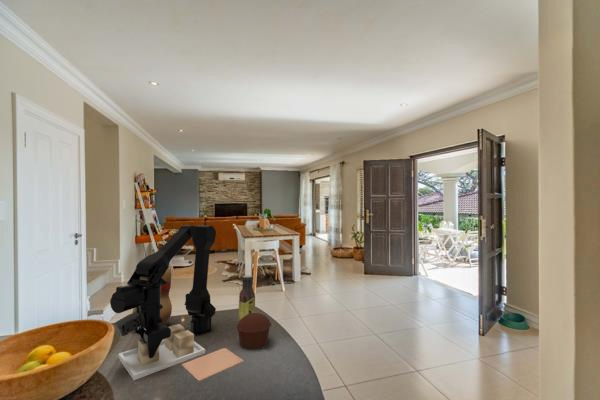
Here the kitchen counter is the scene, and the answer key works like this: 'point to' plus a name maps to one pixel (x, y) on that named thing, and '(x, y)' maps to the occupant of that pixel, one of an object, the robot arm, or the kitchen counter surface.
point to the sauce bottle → (246, 297)
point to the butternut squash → (164, 297)
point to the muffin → (253, 331)
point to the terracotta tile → (212, 364)
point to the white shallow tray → (165, 361)
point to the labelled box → (146, 353)
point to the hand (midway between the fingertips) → (148, 354)
